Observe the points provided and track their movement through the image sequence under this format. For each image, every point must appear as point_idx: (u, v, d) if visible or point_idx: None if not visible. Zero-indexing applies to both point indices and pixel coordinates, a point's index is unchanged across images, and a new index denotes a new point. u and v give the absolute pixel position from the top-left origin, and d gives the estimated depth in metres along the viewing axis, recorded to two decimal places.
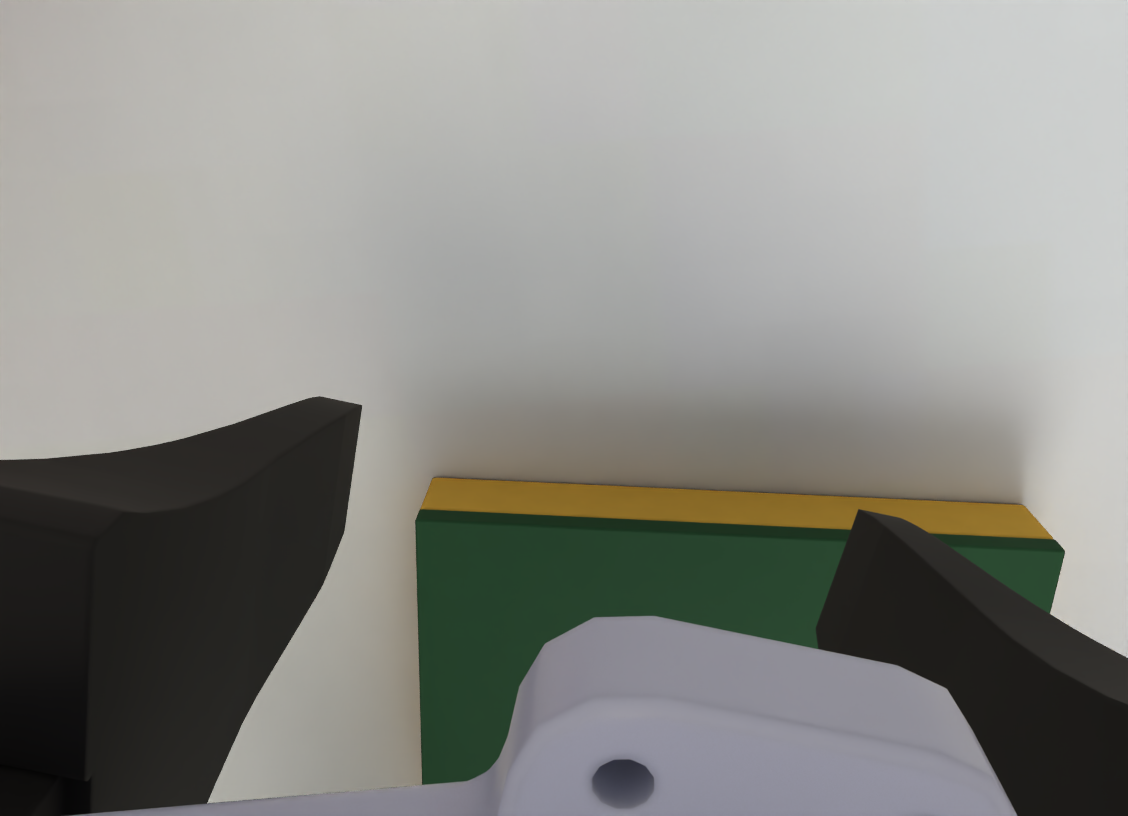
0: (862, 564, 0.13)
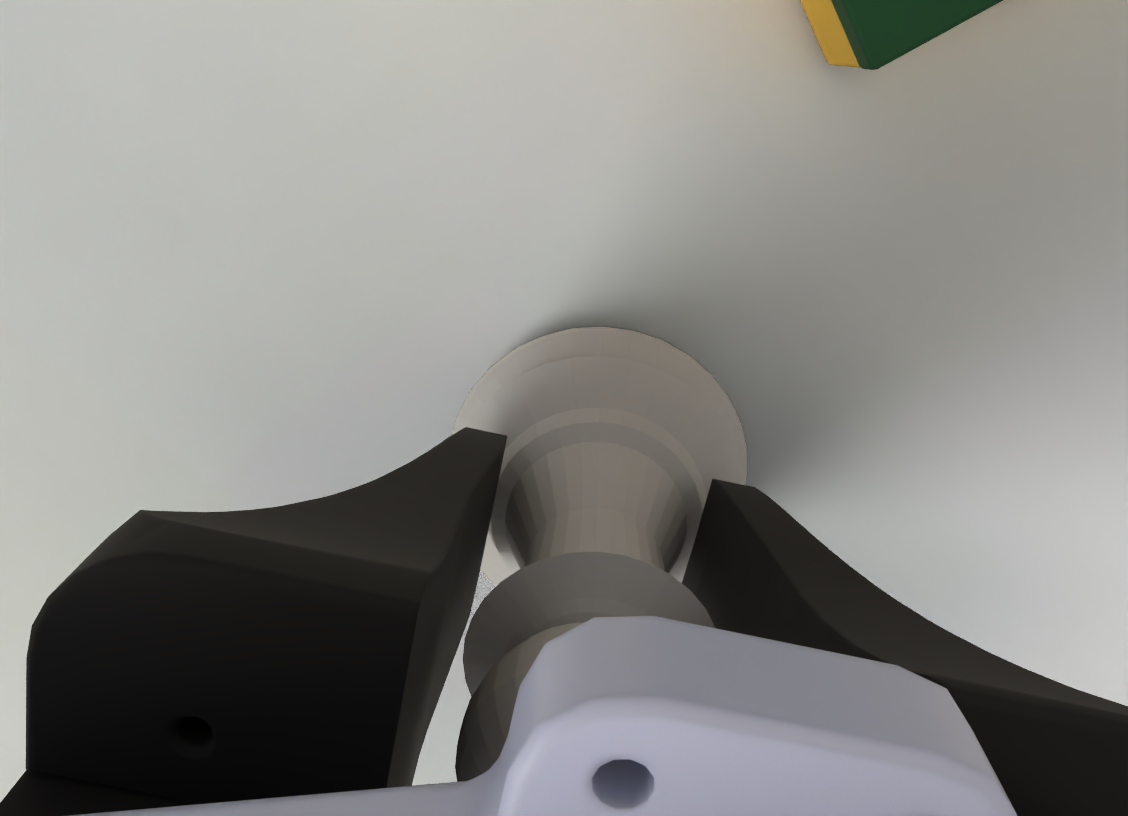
0: (709, 532, 0.13)
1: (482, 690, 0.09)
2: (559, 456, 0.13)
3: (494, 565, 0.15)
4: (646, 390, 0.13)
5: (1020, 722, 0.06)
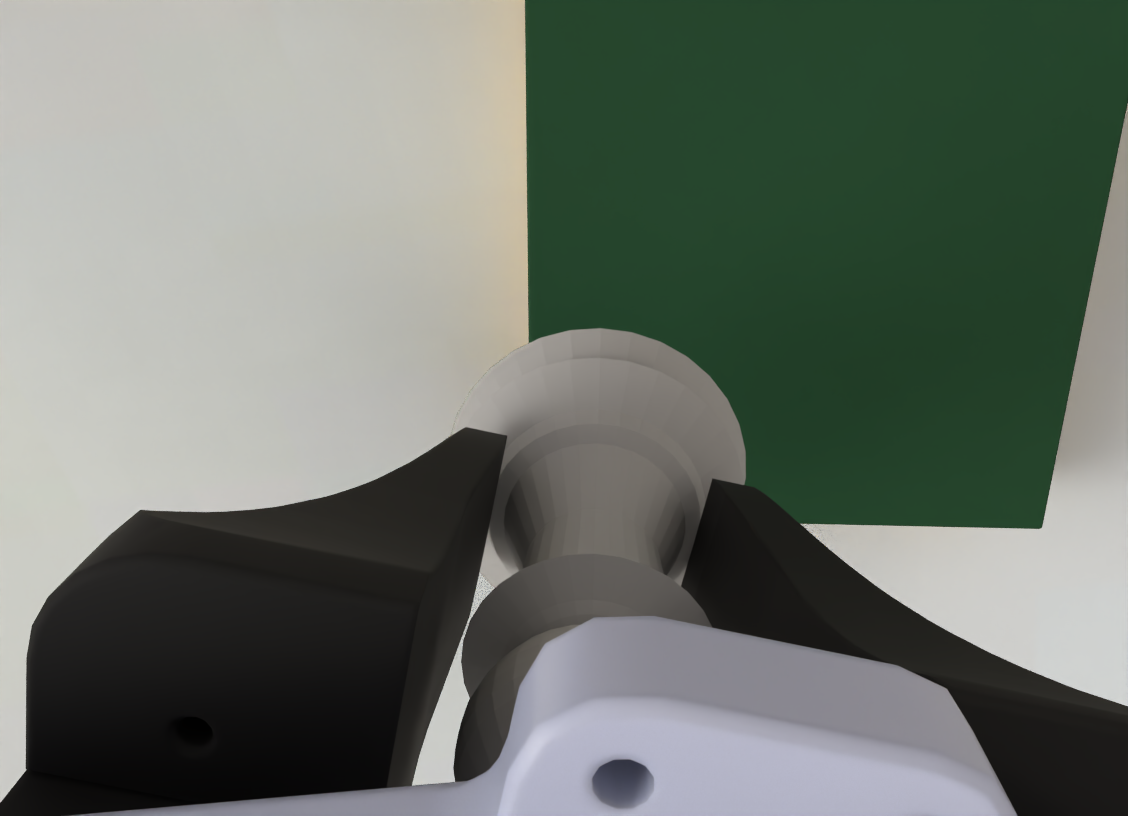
0: (709, 533, 0.13)
1: (480, 692, 0.09)
2: (558, 458, 0.13)
3: (493, 567, 0.15)
4: (645, 392, 0.14)
5: (1020, 723, 0.06)
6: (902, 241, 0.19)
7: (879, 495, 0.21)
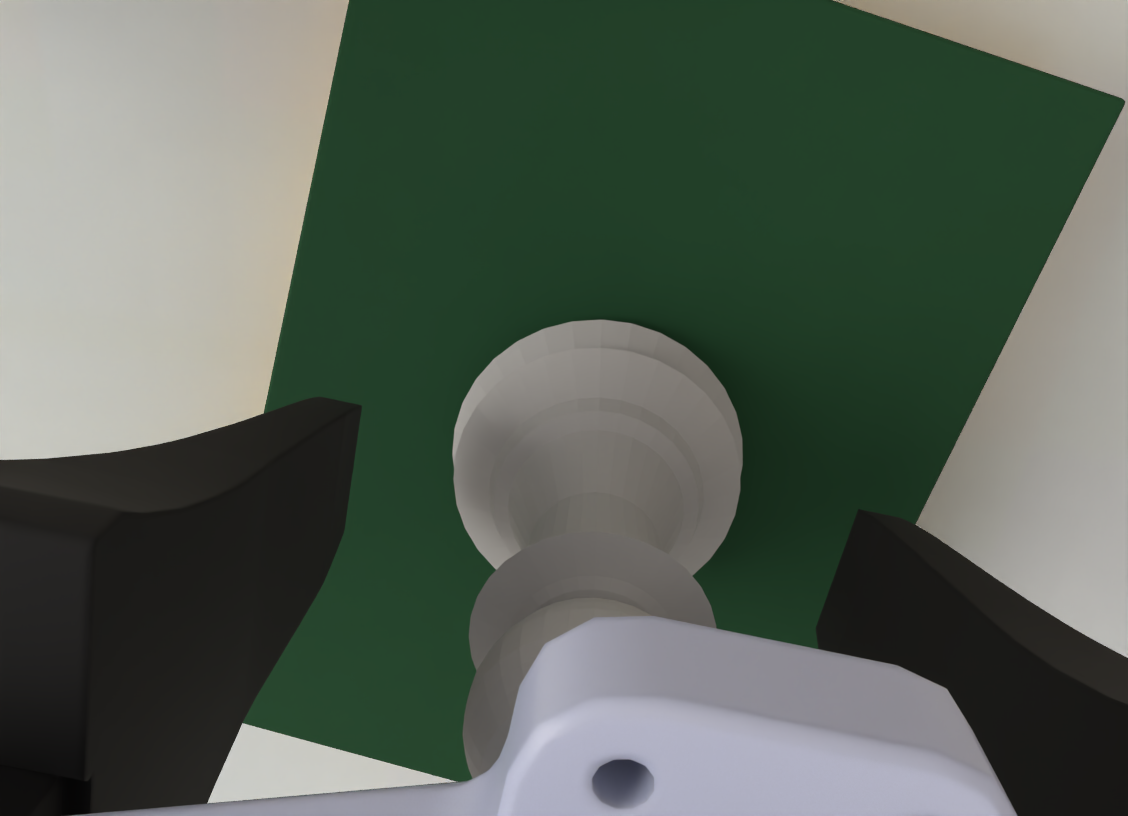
0: (862, 564, 0.13)
1: (488, 661, 0.09)
2: (561, 443, 0.13)
3: (497, 551, 0.15)
4: (644, 380, 0.14)
5: None
6: None
7: None
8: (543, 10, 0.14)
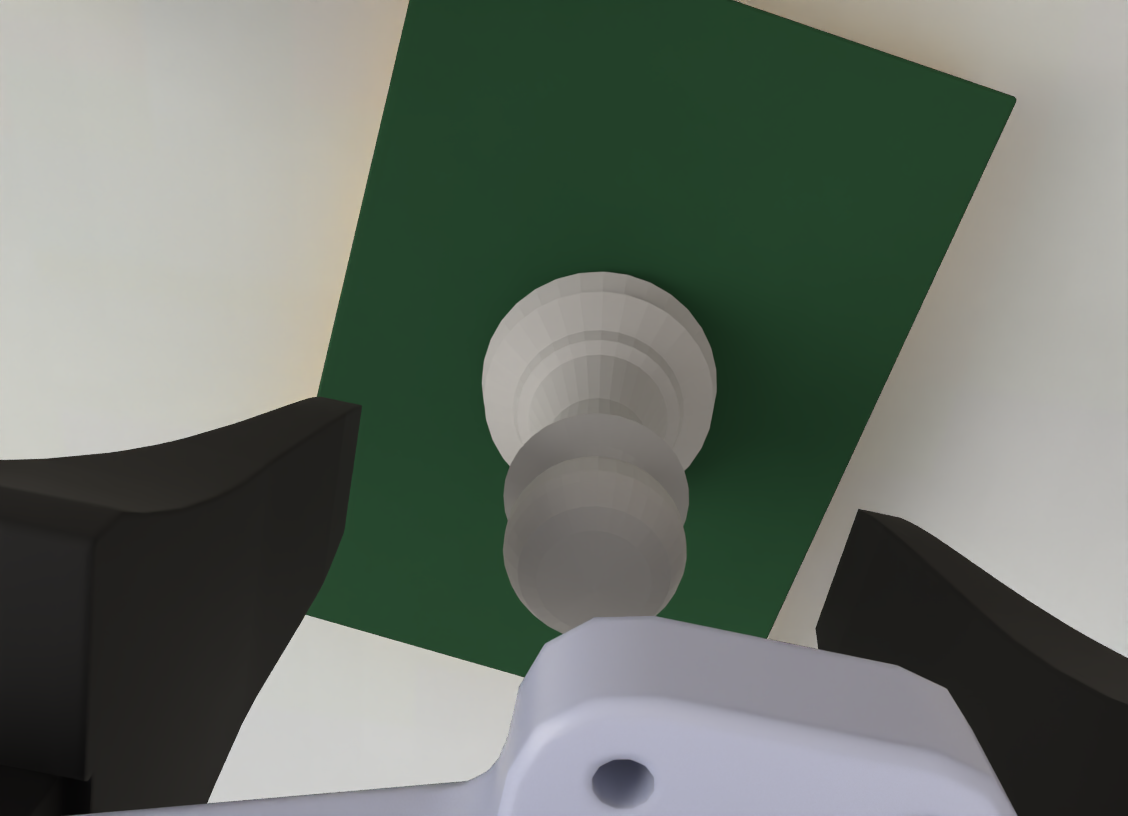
0: (862, 564, 0.13)
1: (522, 496, 0.13)
2: (571, 365, 0.17)
3: None
4: (637, 317, 0.18)
5: None
6: None
7: None
8: (559, 24, 0.17)
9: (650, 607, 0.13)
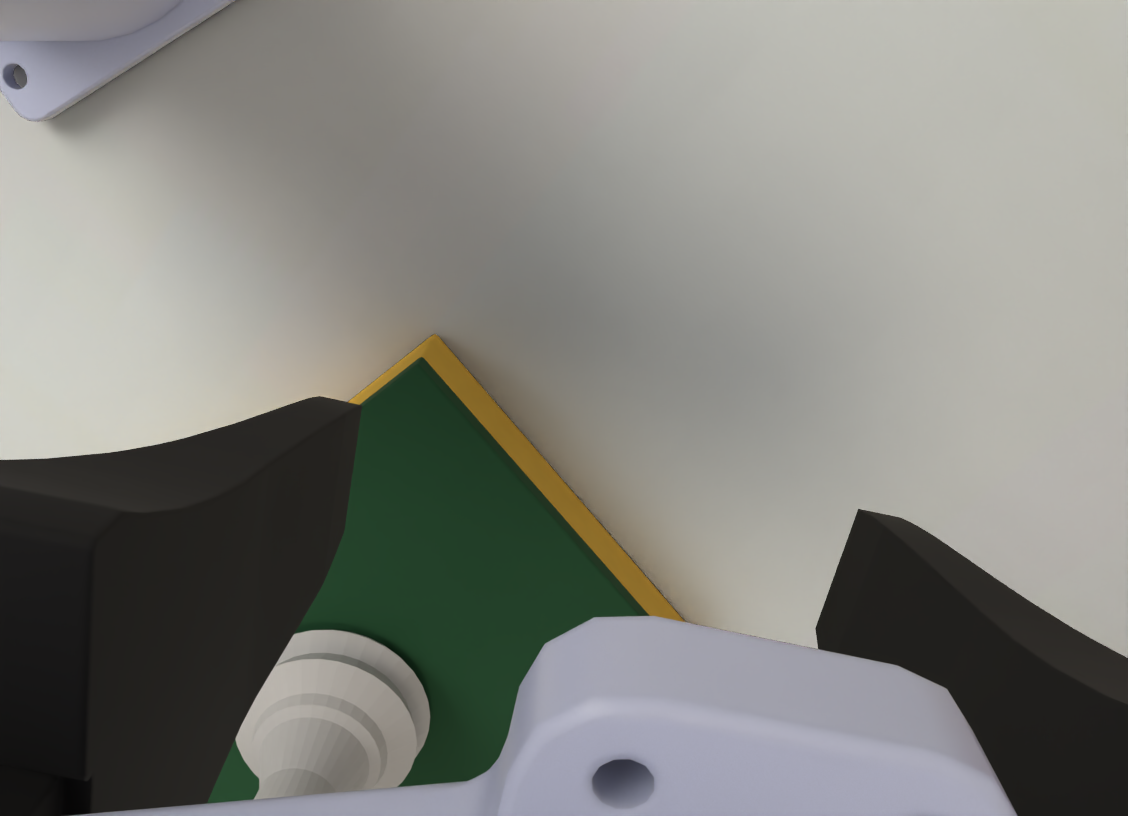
0: (862, 564, 0.13)
1: None
2: (317, 724, 0.22)
3: (244, 741, 0.23)
4: (385, 706, 0.22)
5: None
6: None
7: None
8: (453, 485, 0.22)
9: None
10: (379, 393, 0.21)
